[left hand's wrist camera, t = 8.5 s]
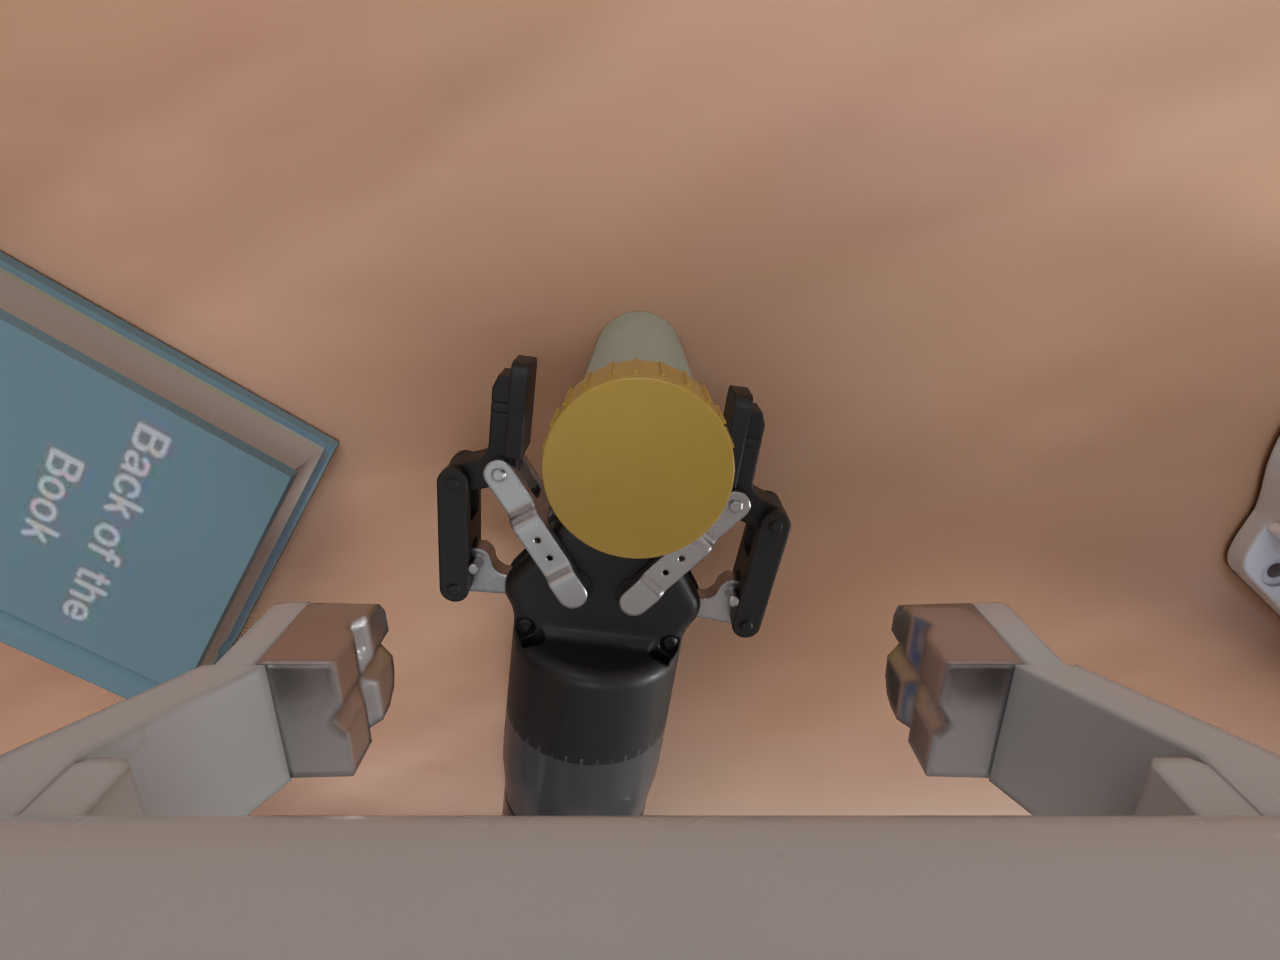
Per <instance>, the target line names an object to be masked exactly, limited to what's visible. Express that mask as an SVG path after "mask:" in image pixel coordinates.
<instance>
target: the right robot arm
mask: <svg viewBox="0 0 1280 960" xmlns="http://www.w3.org/2000/svg"><path fill="white" fill-rule="evenodd" d="M536 369H537V358H536V357H530V356H522V355H519V356H518V357H517V358H516V359H515V360H514V361H513V363H512V367H511V369H510V368H505V369H504V370H503V371H502V372H501V373H500V374H499V376H498V378H497V380H496V382H495V384H494V386H493V389H492V404H491V419H490V434H489V447H488V448H486V449H483V450H479V451H474V452H472V451H469V450H462V451H459V452H458V453H456V454H455V456H454V457H453V458H452V460H451V462H450V463H449V465H448V466H447V467H446V468H445V469H443V471H442V472H441V473H440V474H439V476H438V478H437V503H438V539H439V576H440V591H441V594H442V595H443V596H444V597H445V598H446V599H448V600H450V601H455V602H456V601H461V600H463V599H465V598H466V596H467V595H468V593H469V591H478V592H493V593H506V594H507V597H508V599H509V600H510V602H511V604H512V607H513V610H514V628H513V639H512V650H511V662H510V673H509V685H508V696H507V708H506V720H505V731H504V747H503V759H504V770H505V790H504V801H503V812H502V816H643V814H644V808H645V803H646V799H647V795H648V792H649V790H650V787H651V784H652V782H653V779H654V776H655V773H656V770H657V766H658V761H659V756H660V751H661V746H662V741H663V735H664V730H665V725H666V720H667V714H668V709H669V703H670V698H671V693H672V688H673V682H674V677H675V672H676V666H677V661H678V656H679V651H680V645H681V640H682V637H683V634H684V632H685V630H686V628H687V627H688V626H689V625H690V623H691V622H692V621H693V620H694V619H695V618H696V617H700V618H706V619H712V620H717V621H723V622H729V623H731V624H732V628H733V631H734V633H735V634H737V635H738V636H740V637H751V636H753V635H755V634H756V633H757V632H758V631H759V629H760V626H761V622H762V619H763V616H764V613H765V609H766V606H767V603H768V600H769V596H770V593H771V590H772V587H773V583H774V580H775V577H776V574H777V570H778V567H779V564H780V561H781V557H782V554H783V551H784V548H785V544H786V541H787V538H788V535H789V531H790V528H791V523H790V520H789V518H788V516H787V514H786V512H785V510H784V508H783V506H782V504H781V502H780V500H779V498H778V496H777V495H776V494H775V493H774V492H772V491H764V490H762V489H760V488H758V487H756V486H754V485H753V478H754V474H755V469H756V464H757V459H758V455H759V449H760V445H761V439H762V436H763V431H764V426H765V424H764V419H763V414H762V411H761V410H760V408H759V407H758V405H757V404H756V403H753V396H752V394H751V392H750V391H749V389H748V388H746V387H739V386H731V385H730V387H729V390H728V394H727V399H726V404H725V409H724V415H723V416H724V418H725V421H726V424H724V426H725V427H727V429H728V432H729V434H730V436H731V439H732V441H733V444H734V448H732V449H733V453H734V463H735V473H734V481H733V487H732V491H731V494H730V497H729V500H728V502H727V504H726V506H725V508H724V510H723V512H722V513H721V515H720V516H719V518H718V519H717V521H716V522H715V523H714V524H713V525H712V527H711V528H710V529H709V530H708V531H707V532H706V533H704V534H703V535H702V536H701V537H700V538H699V539H697V540H696V541H694V542H693V543H691V544H690V545H688V546H686V547H684V548H682V549H680V550H678V551H675V552H673V553H670V554H667V555H663V556H659V557H652V558H636V559H633V558H624V557H618V556H614V555H610V554H607V553H604V552H601V551H598V550H596V549H594V548H592V547H590V546H588V545H587V544H585V543H584V542H582V541H581V540H579V539H578V538H577V537H575V536H574V535H573V534H572V533H571V532H570V531H568V529H567V528H566V527H565V526H564V525H563V524H562V523H561V522H560V520H559V519H558V517H557V516H556V514H555V513H554V511H553V509H552V507H551V505H550V503H549V501H548V499H547V496H546V493H545V490H544V485H543V480H542V479H541V478H540V477H539V475H538V473H537V472H536V470H535V469H534V467H533V466H532V464H531V463H530V461H529V460H528V458H527V457H526V455H525V454H524V453H525V451H526V449H527V447H528V445H529V443H530V437H531V426H532V415H533V403H534V392H535V381H536ZM487 487H490V489H491V490H492V491H493V493H494V494H495V496H496V497H497V499H498V500H499V502H500V503H501V505H502V506H503V508H504V509H505V510H506V512H507V514H508V516H509V519H510V524H511V527H512V529H513V530H514V532H515V533H516V535H517V536H518V538H519V539H520V541H521V542H522V544H523V545H524V547H525V549H524V550H523V551H522V552H521V553H520V554H519V555H518V556H517V557H516V558H515V559H514V561H513V562H512V564H511V565H506V564H504V563H502V562H501V561H500V560H499V559H498V558H497V556H496V552H495V548H494V546H493V545H492V544H491V543H490V542H489V541H487V540H481V489H482V488H487ZM740 520H741V521H743V522H745V523H746V526H745V529H744V533H743V536H742V540H741V543H740V547H739V551H738V554H737V558H736V561H735V565H734V568H733V571H724V572H723V573H721V574H720V575H719V576H718V577H717V579H716V582H715V583H714V584H713V585H712V586H711V587H709V588H706V589H698V585H697V582H696V580H695V578H694V577H693V575H692V573H691V571H690V569H692V568H693V567H694V566H695V565H696V564H697V563H699V562H700V561H701V560H702V559H703V558H704V557H706V556H707V555H708V554H709V552H710V551H711V550H712V548H713V545H714V543H715V542H716V541H717V540H718V539H719V538H720V537H721V536H722V535H723V534H725V533H726V532H727V531H728V530H729V529H730V528H732V527H733V526H734V525H735V524H736V523H737V522H739V521H740Z"/></svg>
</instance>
